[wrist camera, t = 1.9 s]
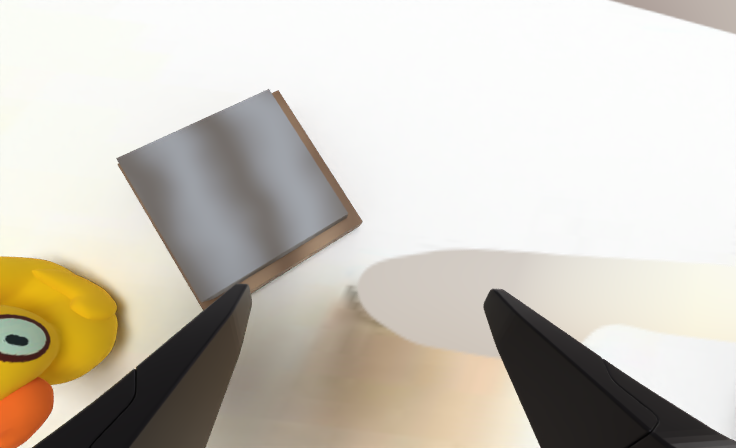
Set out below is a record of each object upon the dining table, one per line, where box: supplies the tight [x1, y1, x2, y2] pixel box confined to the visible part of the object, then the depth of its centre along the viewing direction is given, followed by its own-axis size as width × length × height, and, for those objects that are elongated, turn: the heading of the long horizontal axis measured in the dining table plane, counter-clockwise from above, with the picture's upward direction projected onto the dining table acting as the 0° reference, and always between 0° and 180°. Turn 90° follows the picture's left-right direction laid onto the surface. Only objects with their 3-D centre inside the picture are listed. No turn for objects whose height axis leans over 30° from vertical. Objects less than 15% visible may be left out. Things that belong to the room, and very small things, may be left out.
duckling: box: [0, 257, 118, 448], centre depth 16 cm, size 11×5×10 cm, turn 40°
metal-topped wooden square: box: [116, 89, 363, 311], centre depth 22 cm, size 14×14×4 cm
